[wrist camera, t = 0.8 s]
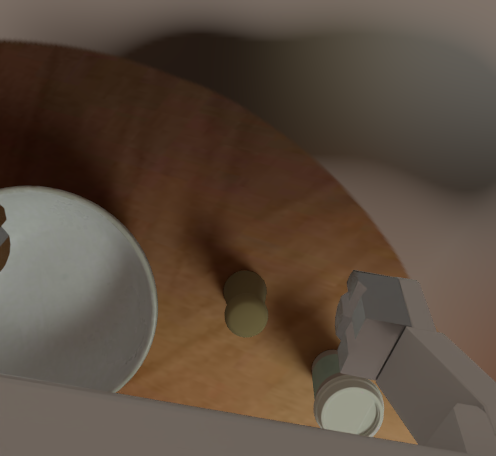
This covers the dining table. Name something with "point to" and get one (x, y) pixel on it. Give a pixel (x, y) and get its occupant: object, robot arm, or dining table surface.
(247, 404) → the dining table surface
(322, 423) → the coffee cup
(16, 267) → the decorative bowl
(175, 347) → the dining table surface
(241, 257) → the dining table surface
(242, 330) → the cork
